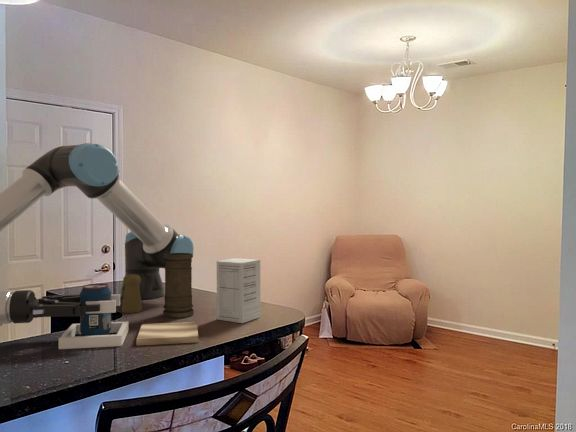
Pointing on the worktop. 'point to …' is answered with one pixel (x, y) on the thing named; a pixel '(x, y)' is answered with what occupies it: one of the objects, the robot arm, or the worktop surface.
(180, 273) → the container
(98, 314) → the soda can
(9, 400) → the worktop surface
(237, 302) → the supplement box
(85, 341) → the tray
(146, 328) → the birch board
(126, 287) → the olive brown rounded figure
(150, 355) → the worktop surface
